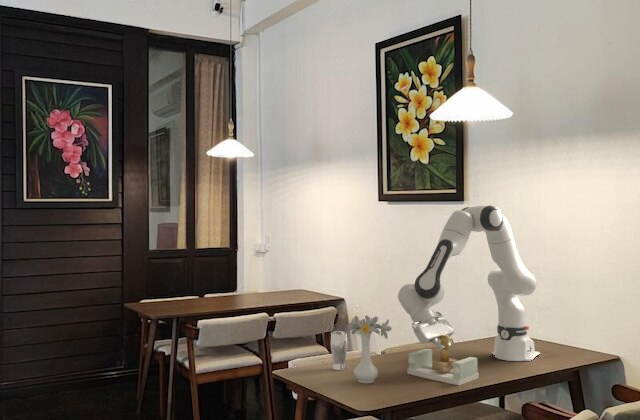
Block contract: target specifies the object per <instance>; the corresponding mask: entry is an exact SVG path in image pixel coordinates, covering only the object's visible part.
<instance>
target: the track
mask: <svg viewBox="0 0 640 420" xmlns="http://www.w3.org/2000/svg"><path fill="white" fill-rule="evenodd" d="M407 362H408V367H407V369H406V371H407V372H406V374H407V375H410V374H411V376H414V377H415V376H416V377H419V378H424V379H429V380H432V381H438V382H442V383H447V384H451V385H455V386H462V385H464V384H466V383H467V384H468V383H470V382H472V381H475V380H478V379H479V378H480V377H479V376H480V375H479V374H480V373H479V372H478V357H473V356H469V357H466V358H462V359H460V360H457V361H456V362H454V369H451V370H448V371H445V372H440V371H435V370H432V362H433V349H432V348H424V349H420V350H416V351H412V352H409V353H408V361H407Z"/></svg>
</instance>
